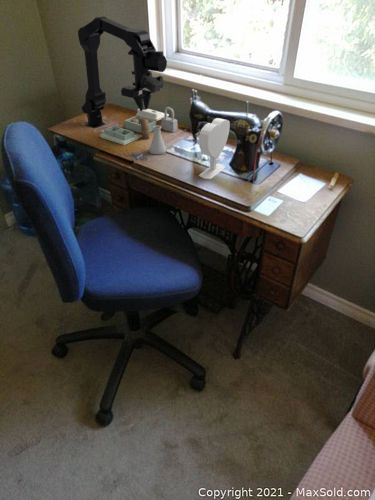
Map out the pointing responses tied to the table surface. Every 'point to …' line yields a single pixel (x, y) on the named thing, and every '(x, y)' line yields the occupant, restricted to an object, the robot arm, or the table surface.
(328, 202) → the table surface
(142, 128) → the dowel
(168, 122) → the padlock
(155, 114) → the cover
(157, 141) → the flask
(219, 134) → the heart sculpture
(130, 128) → the box
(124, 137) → the build board
